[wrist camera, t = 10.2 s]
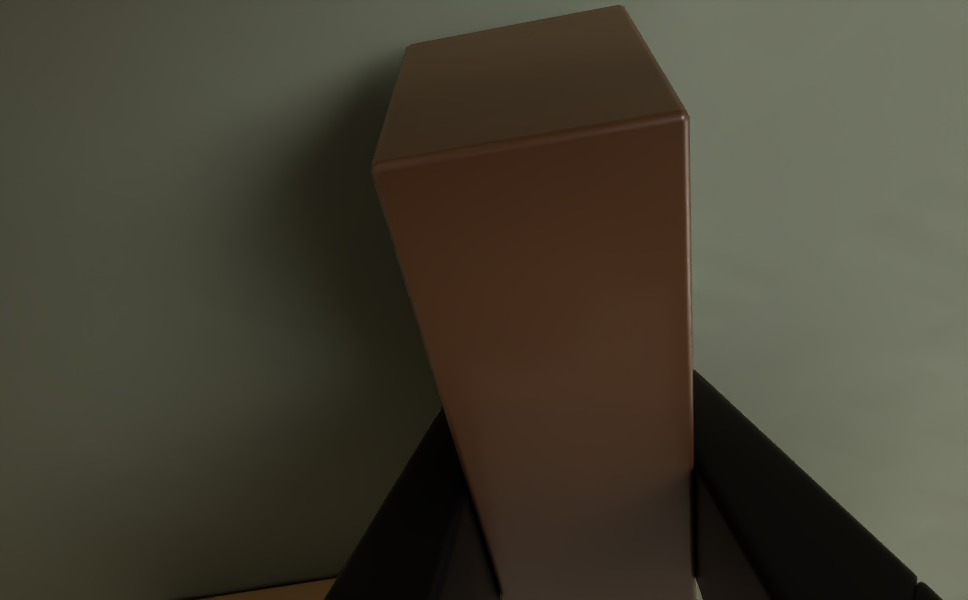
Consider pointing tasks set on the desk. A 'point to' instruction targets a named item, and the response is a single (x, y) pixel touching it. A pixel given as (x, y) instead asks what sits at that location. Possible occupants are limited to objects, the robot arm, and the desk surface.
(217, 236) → the desk surface
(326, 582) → the letter tile L
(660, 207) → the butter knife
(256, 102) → the desk surface
